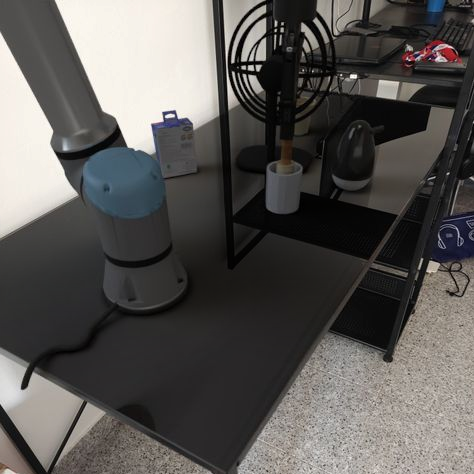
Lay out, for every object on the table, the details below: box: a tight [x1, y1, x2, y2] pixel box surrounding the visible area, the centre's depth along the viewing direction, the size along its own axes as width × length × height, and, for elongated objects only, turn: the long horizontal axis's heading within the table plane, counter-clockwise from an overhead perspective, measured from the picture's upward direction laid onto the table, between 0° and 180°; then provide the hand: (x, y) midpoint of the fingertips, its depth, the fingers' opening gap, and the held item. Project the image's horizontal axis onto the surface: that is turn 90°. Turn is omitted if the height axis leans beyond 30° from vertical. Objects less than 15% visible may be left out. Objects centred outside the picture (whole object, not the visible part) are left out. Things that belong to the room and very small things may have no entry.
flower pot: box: [293, 96, 317, 136], centre depth 130 cm, size 9×9×9 cm
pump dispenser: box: [330, 119, 385, 192], centre depth 102 cm, size 10×10×15 cm
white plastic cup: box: [265, 161, 303, 215], centre depth 98 cm, size 8×8×9 cm
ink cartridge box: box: [150, 109, 198, 179], centre depth 110 cm, size 10×6×14 cm, turn 112°
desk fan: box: [226, 0, 338, 173], centre depth 106 cm, size 27×18×35 cm, turn 75°
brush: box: [276, 82, 297, 175], centre depth 90 cm, size 4×4×20 cm
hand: (287, 136), depth 90 cm, fingers closed on brush, 2 cm apart
